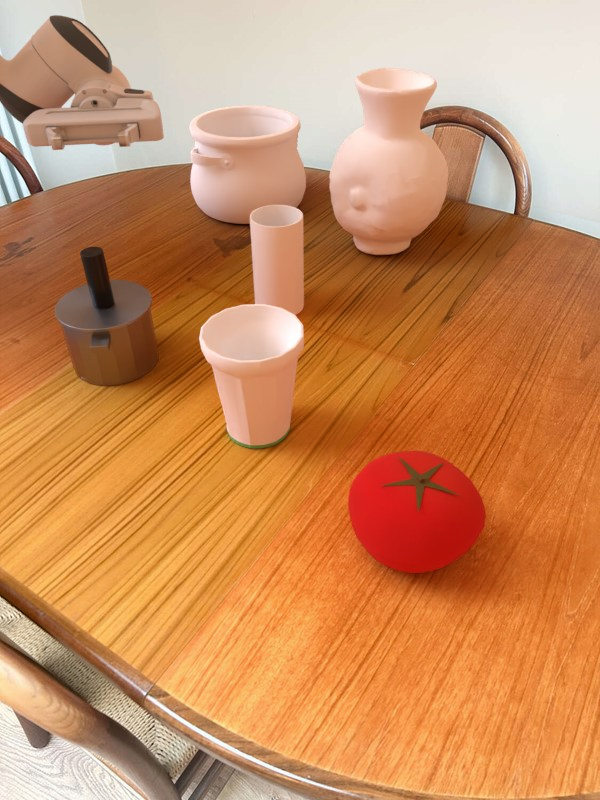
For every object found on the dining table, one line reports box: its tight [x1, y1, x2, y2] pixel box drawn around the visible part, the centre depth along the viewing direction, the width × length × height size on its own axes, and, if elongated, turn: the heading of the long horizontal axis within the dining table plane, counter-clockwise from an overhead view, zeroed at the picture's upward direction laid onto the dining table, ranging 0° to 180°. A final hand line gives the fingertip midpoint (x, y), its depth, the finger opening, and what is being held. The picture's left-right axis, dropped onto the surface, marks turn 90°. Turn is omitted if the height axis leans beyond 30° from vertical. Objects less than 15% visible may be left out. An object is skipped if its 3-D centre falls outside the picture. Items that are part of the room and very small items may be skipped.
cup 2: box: [198, 303, 305, 449], centre depth 82 cm, size 12×12×15 cm
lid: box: [54, 246, 153, 332], centre depth 90 cm, size 13×13×9 cm
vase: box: [328, 67, 450, 256], centre depth 117 cm, size 19×21×30 cm
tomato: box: [347, 450, 487, 574], centre depth 69 cm, size 14×13×10 cm
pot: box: [188, 104, 307, 225], centre depth 137 cm, size 26×24×18 cm
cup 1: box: [249, 205, 305, 316], centre depth 105 cm, size 8×8×16 cm
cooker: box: [60, 279, 159, 387], centre depth 96 cm, size 12×18×10 cm
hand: (90, 142), depth 94 cm, fingers open, 8 cm apart
